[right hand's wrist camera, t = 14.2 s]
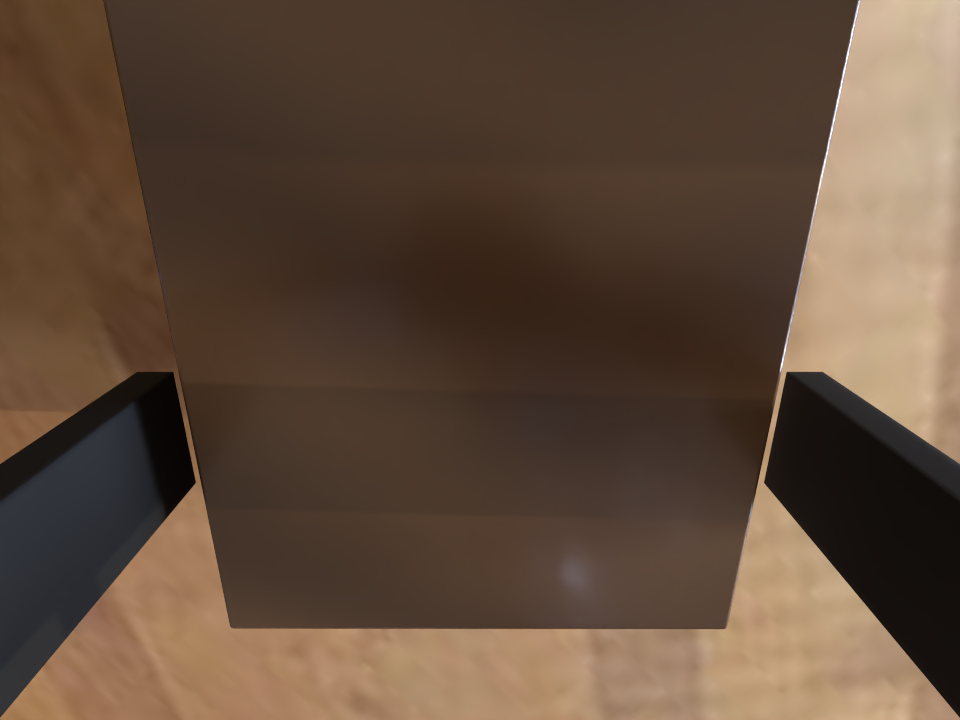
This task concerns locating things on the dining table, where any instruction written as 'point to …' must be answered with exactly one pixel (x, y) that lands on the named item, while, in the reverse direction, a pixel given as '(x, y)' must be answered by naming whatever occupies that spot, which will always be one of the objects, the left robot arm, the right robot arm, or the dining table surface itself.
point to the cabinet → (480, 292)
